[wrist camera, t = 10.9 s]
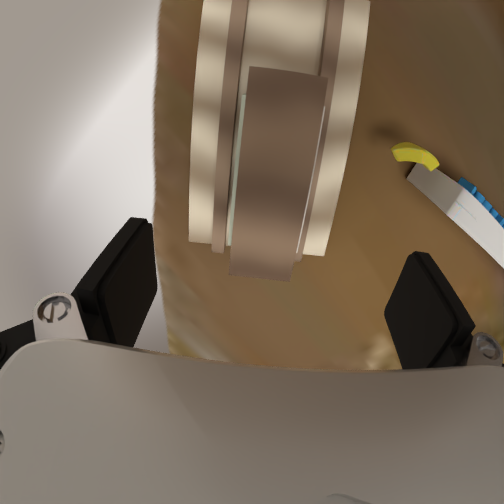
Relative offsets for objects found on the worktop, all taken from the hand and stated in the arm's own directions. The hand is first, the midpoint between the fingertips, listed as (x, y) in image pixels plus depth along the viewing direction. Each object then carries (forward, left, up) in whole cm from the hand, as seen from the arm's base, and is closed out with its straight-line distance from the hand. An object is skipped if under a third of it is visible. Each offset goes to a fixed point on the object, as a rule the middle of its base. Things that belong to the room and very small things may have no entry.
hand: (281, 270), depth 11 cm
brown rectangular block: (0, 0, -18) cm, 18 cm away
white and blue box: (-13, +21, -20) cm, 32 cm away
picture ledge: (-2, -2, -19) cm, 20 cm away
